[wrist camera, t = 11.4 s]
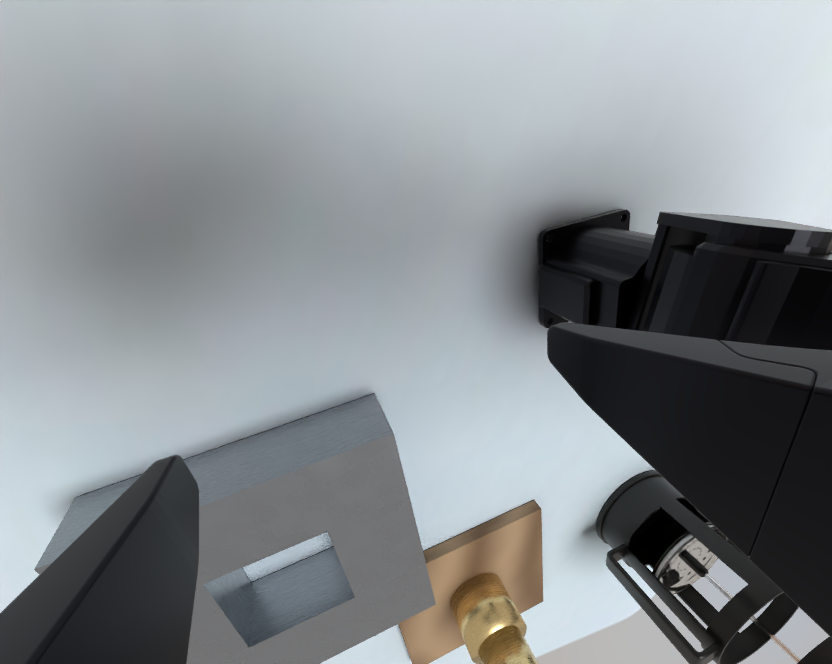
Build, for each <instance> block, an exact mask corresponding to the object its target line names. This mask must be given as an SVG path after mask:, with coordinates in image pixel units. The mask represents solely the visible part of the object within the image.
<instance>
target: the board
mask: <svg viewBox="0 0 832 664" xmlns="http://www.w3.org/2000/svg"><path fill="white" fill-rule="evenodd" d="M423 554H424V558H425V562H426V566H427V570H428V574H429V578H430V582H431V586H432V590H433V594H434V598H435V602H436V605H434V606H432V607H430V608H428V609H426V610H424V611H422V612H420V613H418V614H416V615H414V616H412V617H410V618H408V619H406V620H404V621H402V622H400V623H399V626H400V629H401V632H402V635H403V638H404V641H405V644H406V647H407V649H408V652H409V655H410V658H411V661H412V664H429V663H431V662H432V661H434V660H436V659H438V658H440V657H442V656H443V655H445V654H447V653H449V652H451V651H453V650H454V649H456V648H458V647H460V646H462V645H464V644H465V642H464V639H463V637H462V635H461V632H460V630H459V627H458V625H457V622H456V620H455V617H454V615H453V613H452V610H451V608H450V600H451V597H452V595H453V594H454V592H455V591H456V590H457V588H458V587H459V586H460V585H461V584H463V583H464V582H465V581H467V580H468V579H470V578H472V577H474V576H476V575H478V574H482V573H494V574H496V575H498V576H499V578H500V580H501V581H502V583H503V585H504V587H505V588H506V590H507V592H508V594H509V596H510V597H511V599H512V601H513V603H514V605H515V606H516V608H517V610H518V612H519V613H520V614H521V613H522V612H524V611H526V610H528V609H530V608H532V607H533V606H535V605H537V604H539V603H541V602H543V571H542V521H541V508H540V507H539V505H538V504H537V503H536V502H535V500H533V501H530V502H528V503H526V504H524V505H522V506H520V507H518V508H515V509H513V510H511V511H509V512H507V513H505V514H503V515H500V516H498V517H496V518H494V519H492V520H490V521H488V522H485V523H483V524H481V525H479V526H477V527H475V528H473V529H470V530H468V531H466V532H464V533H462V534H460V535H458V536H455V537H453V538H451V539H449V540H447V541H445V542H443V543H440V544H438V545H436V546H434V547H432V548H430V549H428V550H425V551H423Z"/></svg>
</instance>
